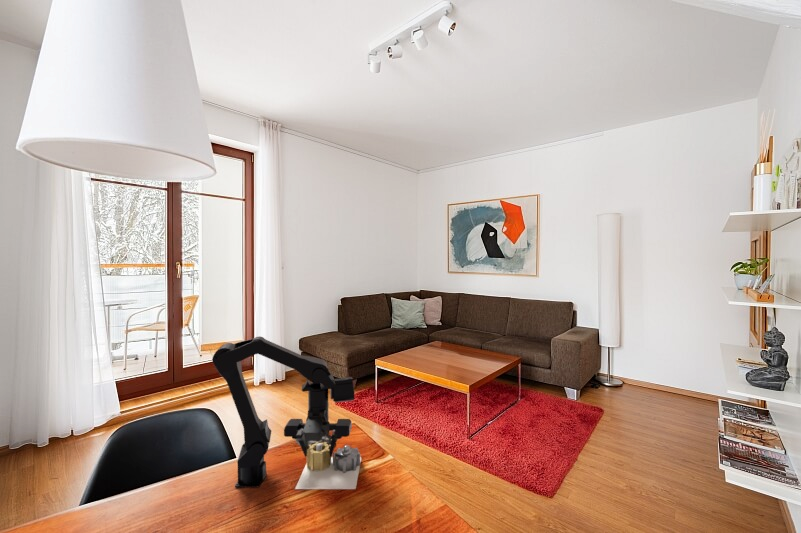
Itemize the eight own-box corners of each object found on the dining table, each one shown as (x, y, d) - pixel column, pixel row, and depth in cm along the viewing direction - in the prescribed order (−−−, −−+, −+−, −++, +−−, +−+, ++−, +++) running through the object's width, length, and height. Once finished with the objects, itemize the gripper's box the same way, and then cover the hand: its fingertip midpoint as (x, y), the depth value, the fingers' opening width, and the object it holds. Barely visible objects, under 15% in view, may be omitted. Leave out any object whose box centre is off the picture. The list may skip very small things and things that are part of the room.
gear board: (295, 494, 96) (294, 466, 96) (309, 462, 111) (309, 437, 111) (355, 494, 96) (355, 466, 96) (361, 462, 111) (361, 437, 111)
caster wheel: (336, 458, 118) (308, 465, 111) (320, 437, 126) (293, 442, 120) (341, 439, 117) (313, 445, 111) (325, 419, 126) (298, 424, 119)
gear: (330, 473, 103) (330, 453, 103) (335, 457, 111) (335, 439, 111) (358, 473, 103) (358, 453, 103) (361, 457, 111) (361, 439, 111)
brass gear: (304, 471, 103) (304, 453, 103) (310, 457, 110) (310, 441, 110) (328, 471, 103) (328, 453, 103) (332, 457, 110) (332, 441, 110)
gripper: (277, 415, 98) (277, 472, 99) (346, 415, 98) (346, 472, 99) (289, 399, 109) (290, 450, 110) (351, 399, 109) (351, 450, 110)
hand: (318, 455), depth 107 cm, fingers open, 7 cm apart
